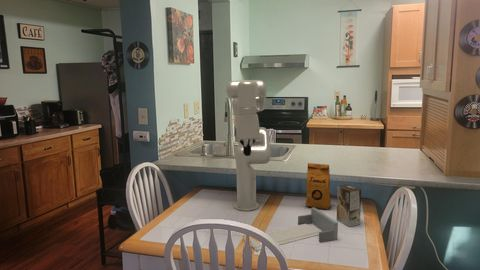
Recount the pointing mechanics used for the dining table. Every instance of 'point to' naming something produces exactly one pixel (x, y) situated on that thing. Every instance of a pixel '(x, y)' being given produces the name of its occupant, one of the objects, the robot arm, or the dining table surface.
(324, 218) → the u-shaped bracket
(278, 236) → the baseboard molding
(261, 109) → the robot arm
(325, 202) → the coffee package
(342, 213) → the coffee box
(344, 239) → the dining table surface
